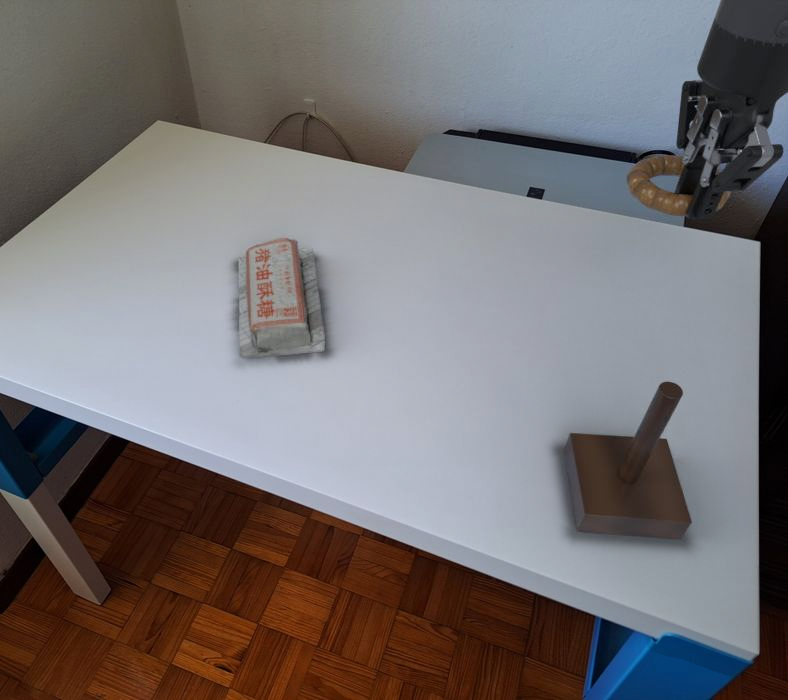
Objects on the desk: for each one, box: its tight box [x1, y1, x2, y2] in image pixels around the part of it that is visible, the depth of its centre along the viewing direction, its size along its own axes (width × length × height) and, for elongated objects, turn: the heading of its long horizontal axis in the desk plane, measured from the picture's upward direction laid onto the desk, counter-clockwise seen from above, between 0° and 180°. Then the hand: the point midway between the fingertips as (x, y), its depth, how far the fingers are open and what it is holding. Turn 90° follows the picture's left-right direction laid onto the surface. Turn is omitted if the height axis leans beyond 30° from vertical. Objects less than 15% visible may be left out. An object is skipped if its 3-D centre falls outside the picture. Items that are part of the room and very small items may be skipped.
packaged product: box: [238, 237, 326, 359], centre depth 83 cm, size 18×5×10 cm
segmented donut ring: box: [626, 154, 732, 217], centre depth 67 cm, size 9×9×2 cm
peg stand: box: [563, 381, 693, 540], centre depth 59 cm, size 9×9×15 cm
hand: (691, 208), depth 65 cm, fingers closed on segmented donut ring, 2 cm apart
